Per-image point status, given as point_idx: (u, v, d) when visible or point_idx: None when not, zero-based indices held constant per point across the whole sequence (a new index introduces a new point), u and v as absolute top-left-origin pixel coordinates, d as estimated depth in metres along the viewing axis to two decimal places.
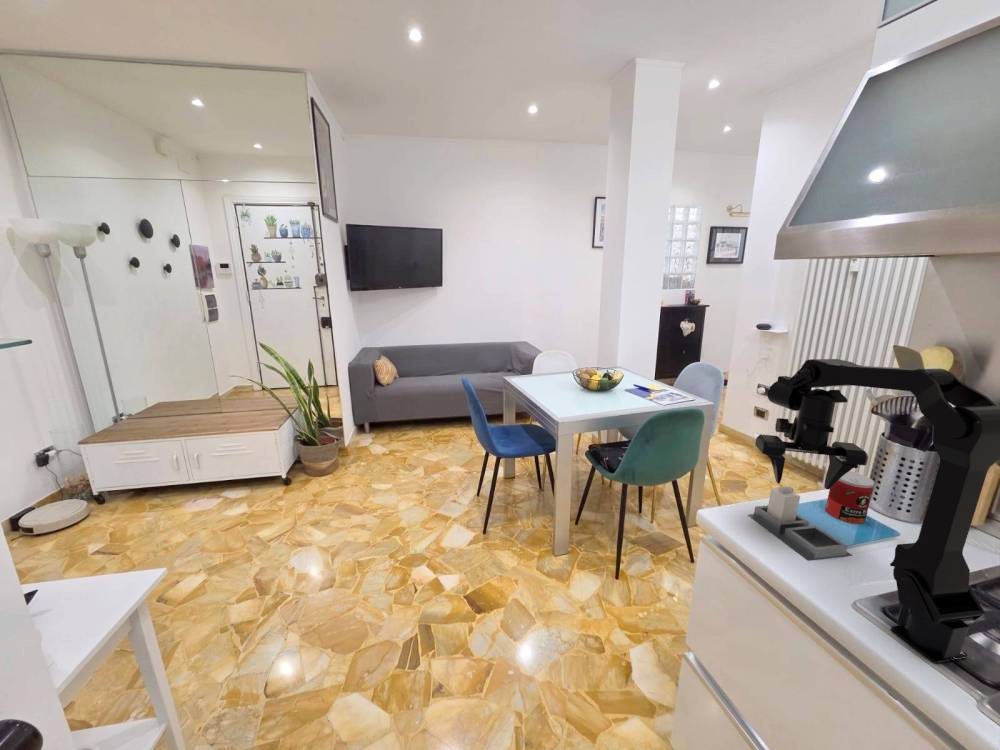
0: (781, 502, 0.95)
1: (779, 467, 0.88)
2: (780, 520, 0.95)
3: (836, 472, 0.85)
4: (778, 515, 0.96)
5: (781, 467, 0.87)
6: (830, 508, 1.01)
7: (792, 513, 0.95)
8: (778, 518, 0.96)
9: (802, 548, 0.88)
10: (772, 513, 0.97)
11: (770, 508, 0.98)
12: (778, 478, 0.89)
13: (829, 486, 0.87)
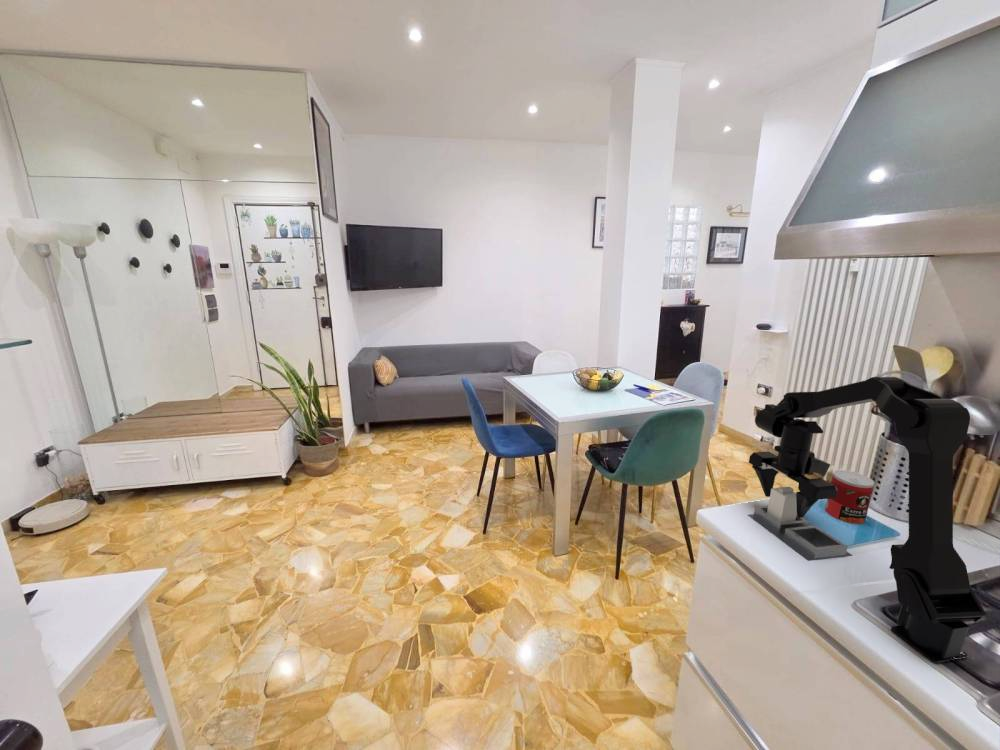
0: (781, 502, 0.95)
1: (759, 478, 1.01)
2: (780, 520, 0.95)
3: None
4: (778, 515, 0.96)
5: (761, 478, 1.00)
6: (830, 508, 1.01)
7: (792, 513, 0.95)
8: (778, 518, 0.96)
9: (802, 548, 0.88)
10: (772, 513, 0.97)
11: (770, 508, 0.98)
12: (763, 490, 1.01)
13: (797, 514, 0.92)
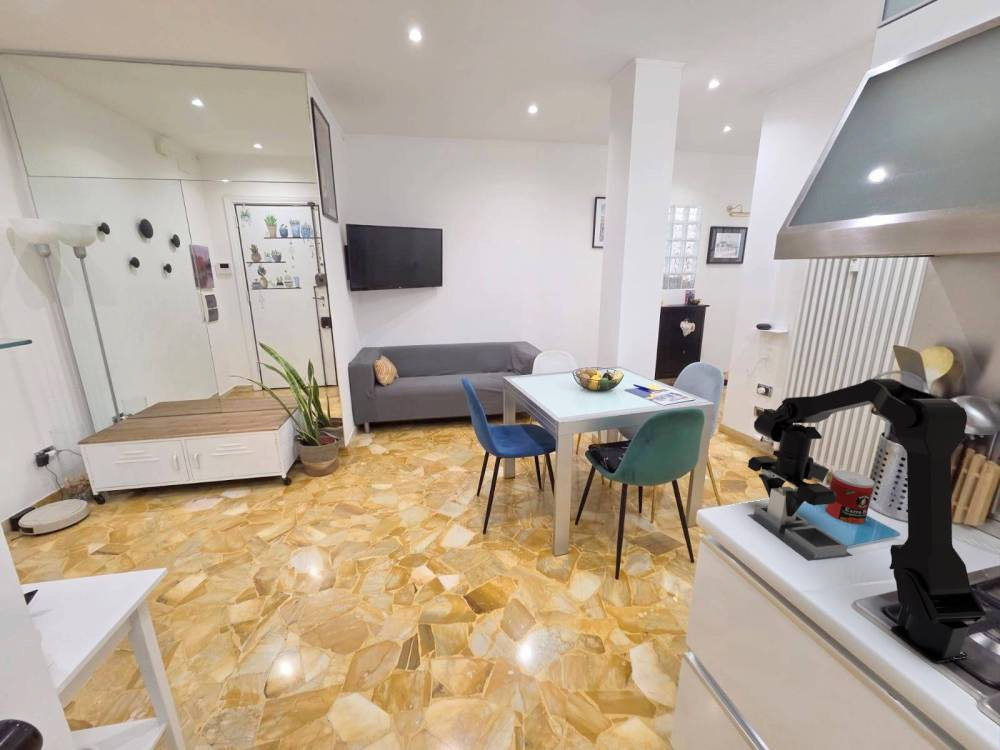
0: (781, 502, 0.95)
1: (766, 488, 0.99)
2: (780, 520, 0.95)
3: None
4: (778, 515, 0.96)
5: (767, 488, 0.98)
6: (830, 508, 1.01)
7: None
8: (778, 518, 0.96)
9: (802, 548, 0.88)
10: (772, 513, 0.97)
11: (770, 508, 0.98)
12: None
13: (787, 513, 0.94)
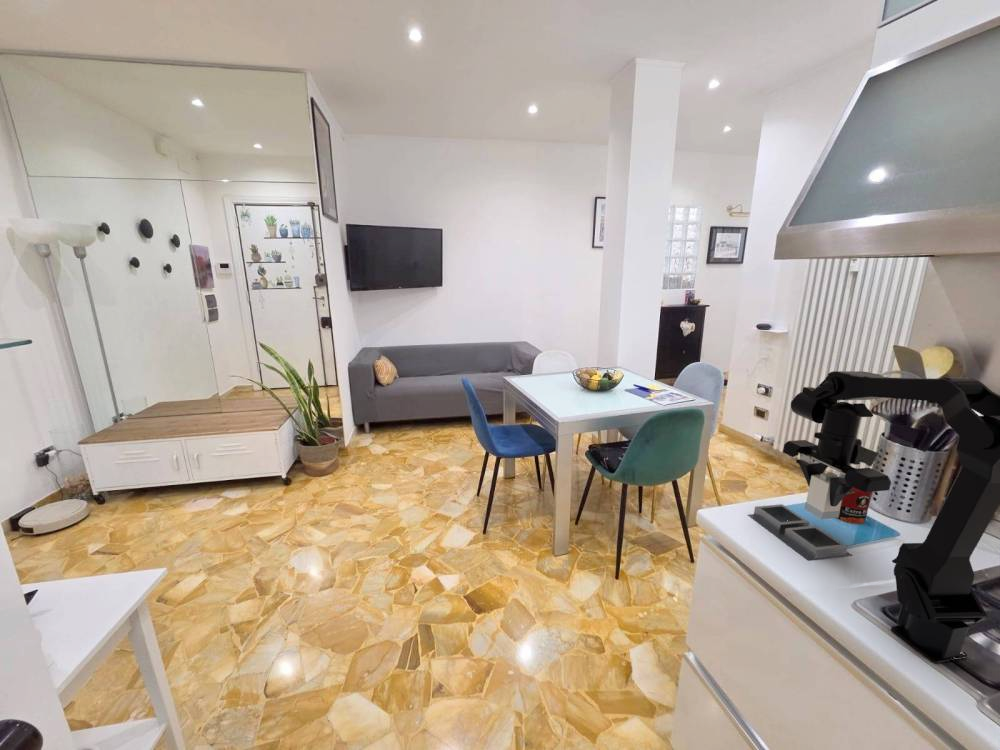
0: (823, 490, 0.84)
1: (805, 475, 0.88)
2: (823, 510, 0.85)
3: None
4: (820, 505, 0.85)
5: (807, 475, 0.88)
6: None
7: None
8: (820, 508, 0.85)
9: (802, 548, 0.88)
10: (812, 503, 0.87)
11: (810, 497, 0.87)
12: None
13: (831, 502, 0.84)
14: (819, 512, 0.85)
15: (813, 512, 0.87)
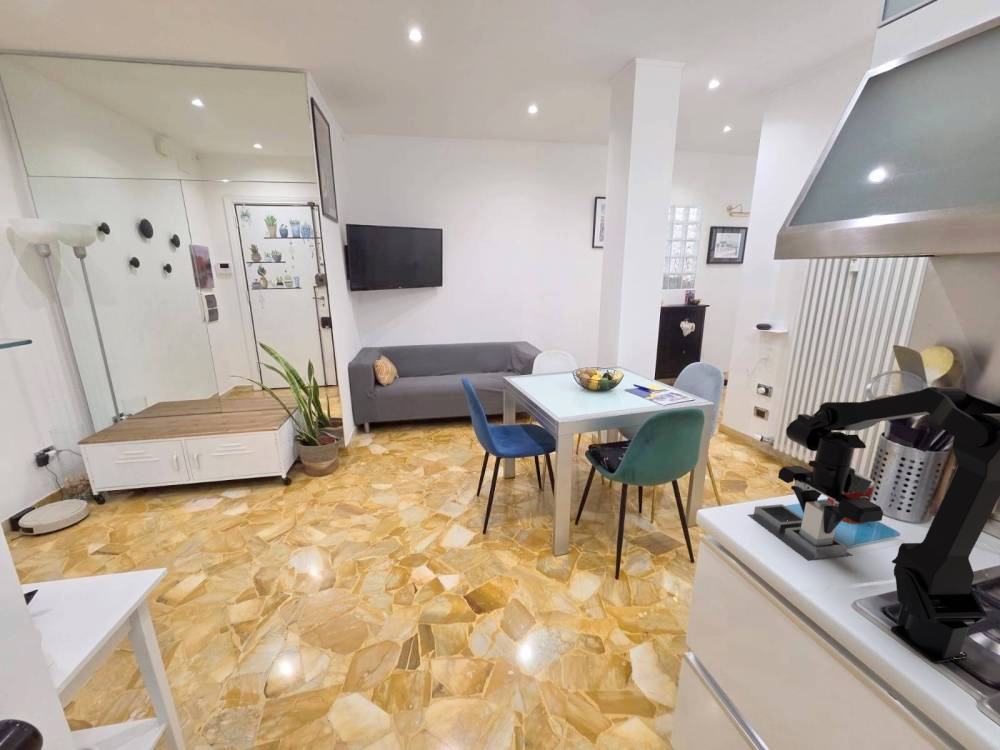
0: (817, 518, 0.86)
1: (800, 501, 0.90)
2: (817, 537, 0.86)
3: None
4: (814, 532, 0.86)
5: (801, 501, 0.89)
6: None
7: None
8: (814, 535, 0.86)
9: (802, 548, 0.88)
10: (807, 529, 0.88)
11: (805, 524, 0.89)
12: None
13: (825, 529, 0.85)
14: (814, 539, 0.87)
15: (807, 538, 0.88)
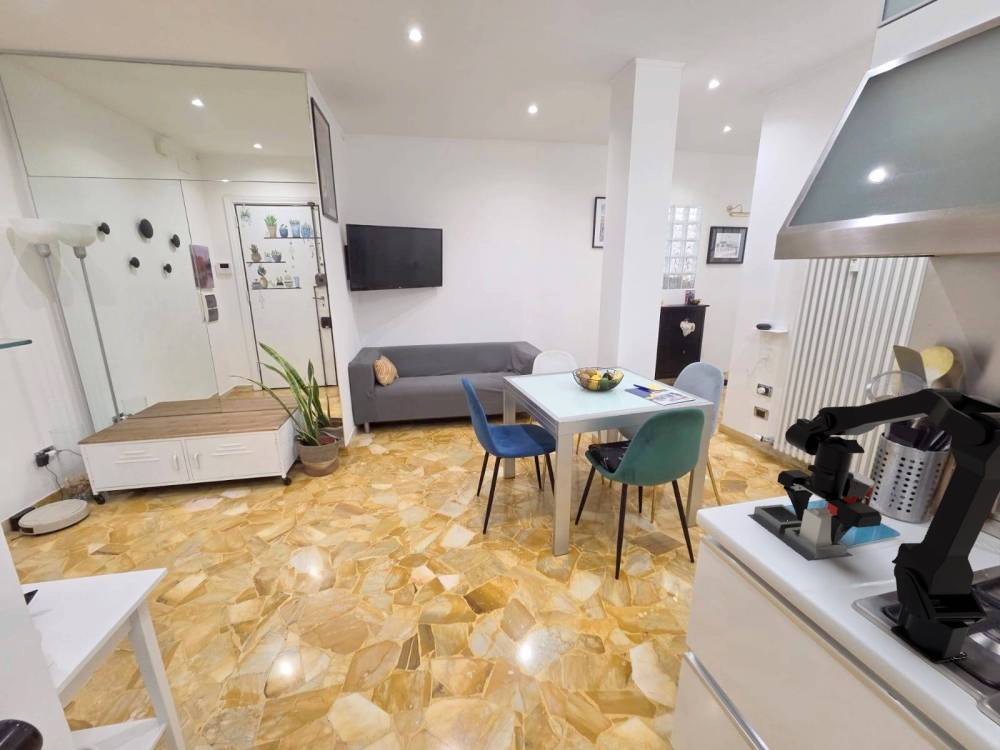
0: (816, 525, 0.86)
1: (792, 501, 0.92)
2: (815, 544, 0.86)
3: None
4: (813, 539, 0.87)
5: (793, 501, 0.91)
6: (830, 508, 1.01)
7: (828, 537, 0.86)
8: (813, 542, 0.87)
9: (802, 548, 0.88)
10: (805, 536, 0.89)
11: (803, 531, 0.89)
12: (796, 514, 0.92)
13: (831, 539, 0.84)
14: None
15: None
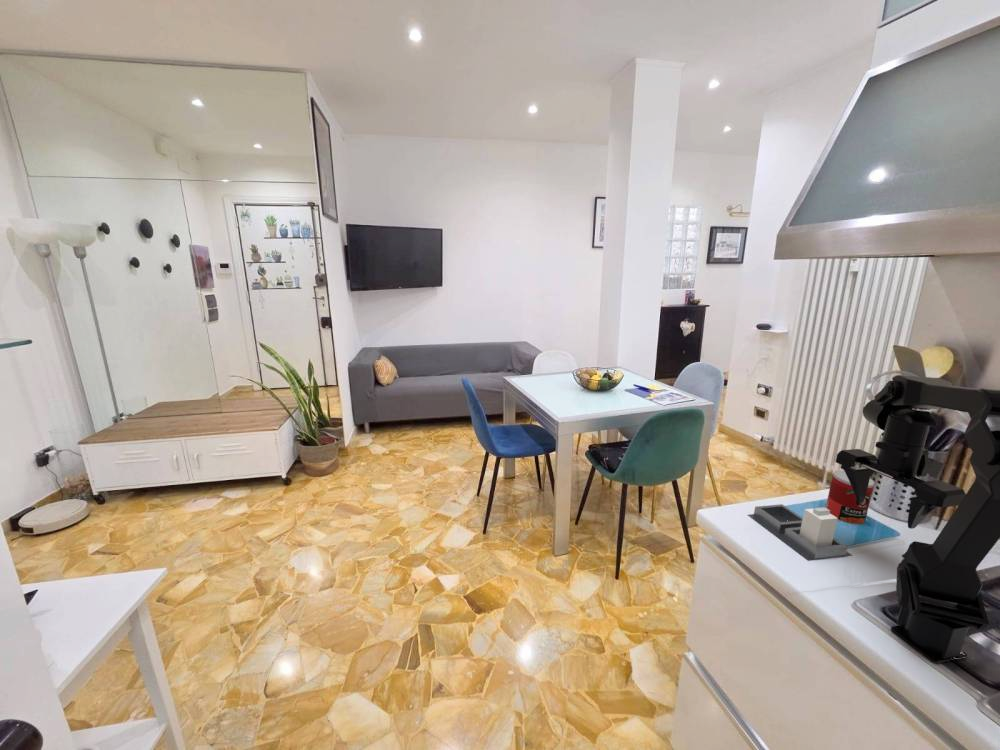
0: (816, 525, 0.86)
1: (851, 481, 0.85)
2: (815, 544, 0.86)
3: None
4: (813, 539, 0.87)
5: (853, 481, 0.84)
6: (830, 508, 1.01)
7: (828, 537, 0.86)
8: (813, 542, 0.87)
9: (802, 548, 0.88)
10: (805, 536, 0.89)
11: (803, 531, 0.89)
12: (855, 495, 0.85)
13: (909, 524, 0.76)
14: None
15: None
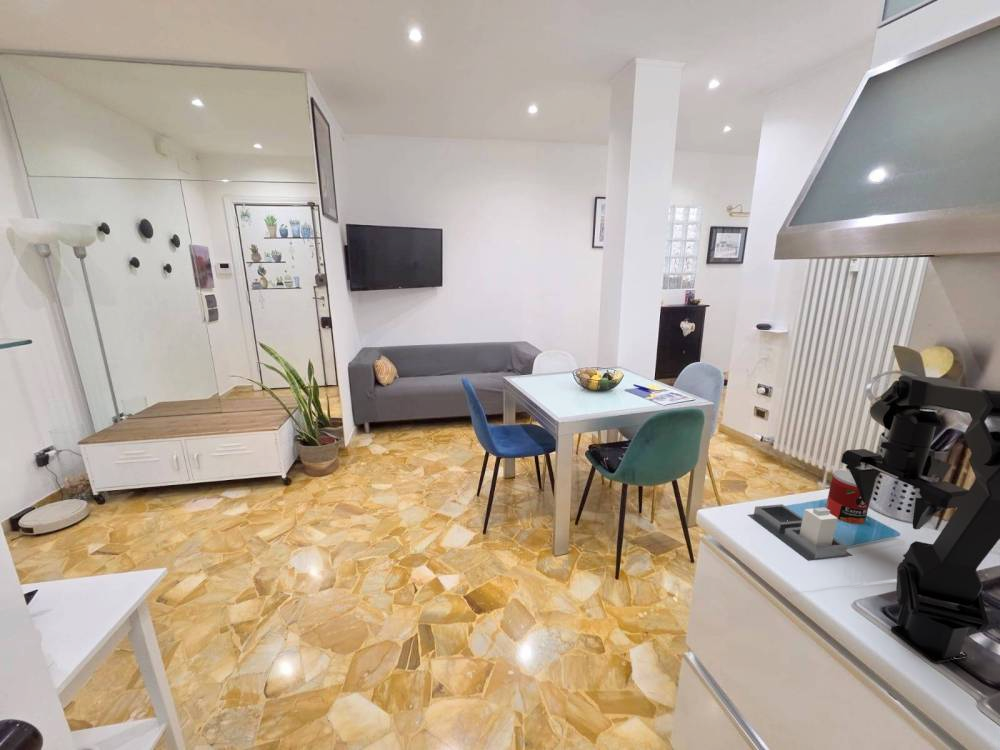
0: (816, 525, 0.86)
1: (856, 481, 0.84)
2: (815, 544, 0.86)
3: None
4: (813, 539, 0.87)
5: (858, 481, 0.84)
6: (830, 508, 1.01)
7: (828, 537, 0.86)
8: (813, 542, 0.87)
9: (802, 548, 0.88)
10: (805, 536, 0.89)
11: (803, 531, 0.89)
12: (861, 495, 0.85)
13: (914, 525, 0.75)
14: None
15: None
